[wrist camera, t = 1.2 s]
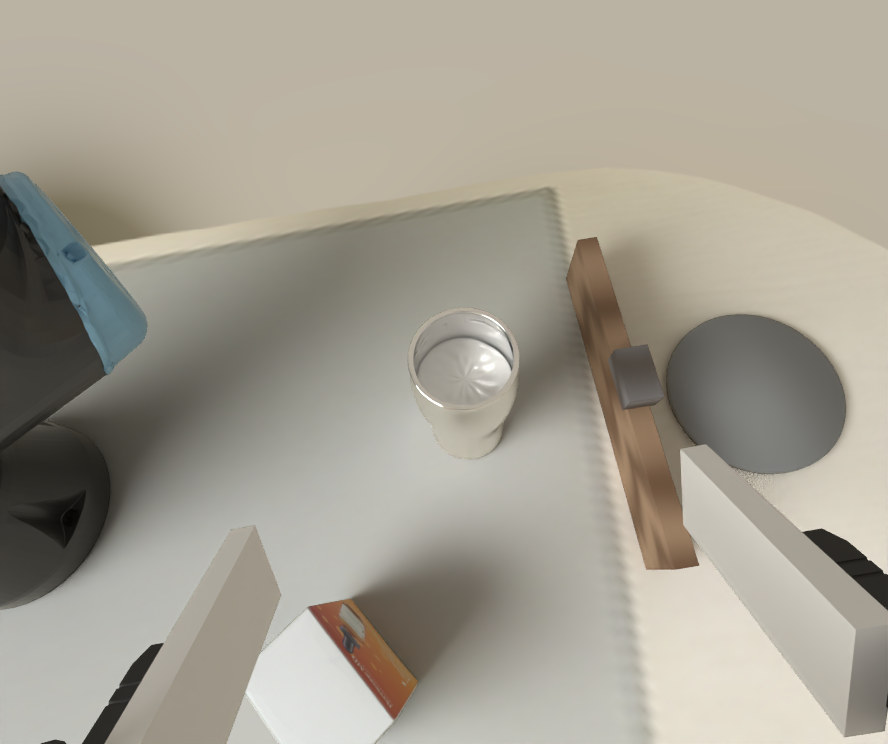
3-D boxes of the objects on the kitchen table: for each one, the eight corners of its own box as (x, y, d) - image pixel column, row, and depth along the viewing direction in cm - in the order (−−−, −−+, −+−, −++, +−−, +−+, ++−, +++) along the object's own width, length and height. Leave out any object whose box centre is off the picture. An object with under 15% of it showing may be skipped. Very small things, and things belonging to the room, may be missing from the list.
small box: (420, 682, 37) (399, 723, 27) (362, 745, 36) (318, 812, 26) (350, 595, 39) (308, 603, 29) (293, 651, 38) (229, 679, 28)
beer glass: (468, 483, 42) (464, 439, 28) (410, 425, 44) (379, 358, 30) (525, 424, 43) (548, 354, 29) (466, 371, 45) (462, 283, 31)
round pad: (631, 381, 44) (633, 378, 43) (741, 289, 47) (744, 286, 46) (764, 510, 40) (768, 509, 39) (877, 401, 42) (882, 399, 42)
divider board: (672, 565, 39) (718, 564, 31) (641, 570, 39) (680, 570, 31) (587, 275, 48) (607, 221, 41) (561, 279, 48) (577, 225, 41)
